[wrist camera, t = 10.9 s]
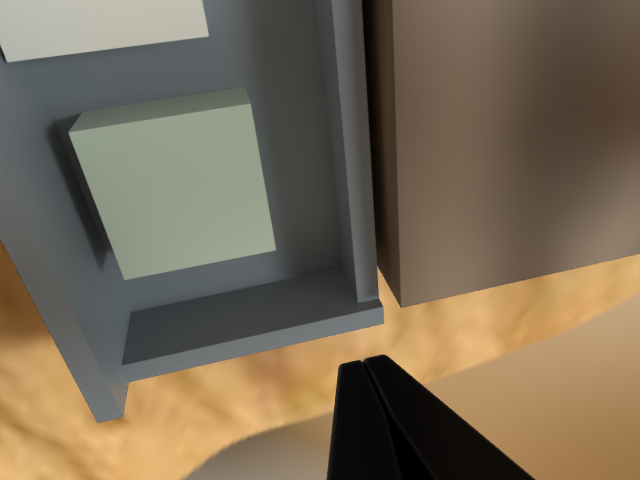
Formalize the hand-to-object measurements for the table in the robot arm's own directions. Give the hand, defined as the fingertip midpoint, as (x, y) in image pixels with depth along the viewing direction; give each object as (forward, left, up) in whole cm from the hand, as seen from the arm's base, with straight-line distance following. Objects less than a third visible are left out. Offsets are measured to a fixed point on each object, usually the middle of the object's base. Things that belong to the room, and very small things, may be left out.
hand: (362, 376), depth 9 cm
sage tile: (+3, 0, -8) cm, 9 cm away
